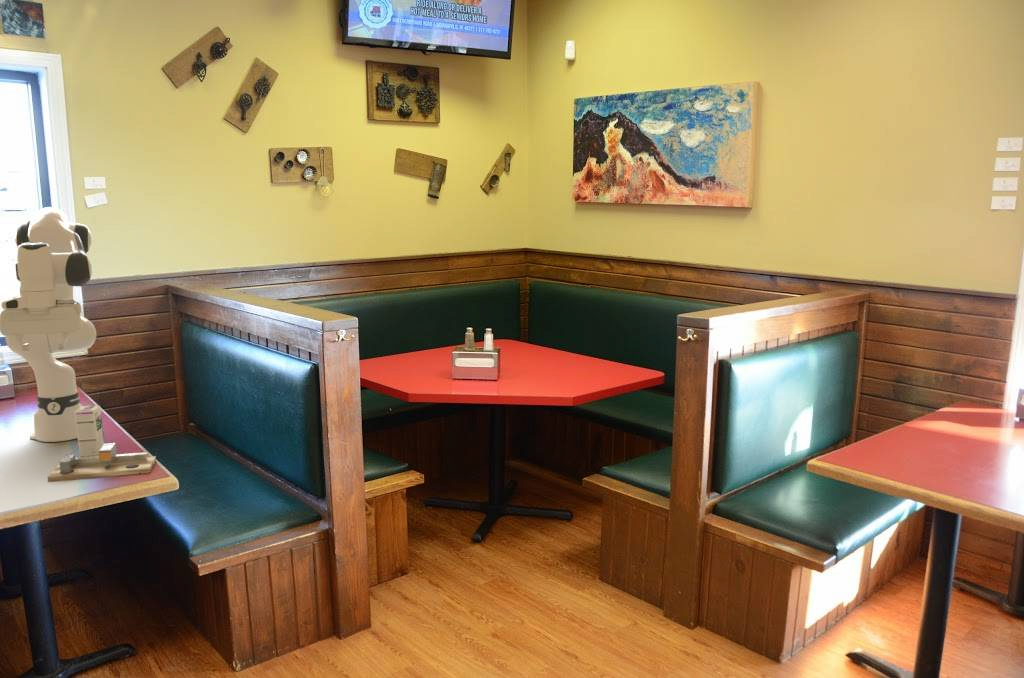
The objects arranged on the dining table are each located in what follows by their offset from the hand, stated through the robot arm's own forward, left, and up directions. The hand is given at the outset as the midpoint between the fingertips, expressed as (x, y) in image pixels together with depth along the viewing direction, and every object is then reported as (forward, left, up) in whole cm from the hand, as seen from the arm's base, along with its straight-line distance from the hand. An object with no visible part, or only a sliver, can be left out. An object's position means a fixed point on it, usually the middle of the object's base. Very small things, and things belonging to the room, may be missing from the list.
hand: (44, 349), depth 230 cm
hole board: (+5, +14, -35) cm, 38 cm away
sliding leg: (+6, +15, -34) cm, 37 cm away
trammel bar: (+5, +14, -34) cm, 37 cm away
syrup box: (-13, +7, -35) cm, 38 cm away
